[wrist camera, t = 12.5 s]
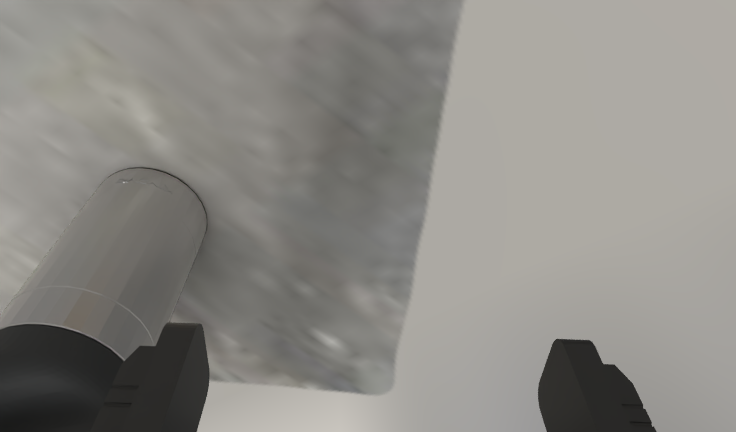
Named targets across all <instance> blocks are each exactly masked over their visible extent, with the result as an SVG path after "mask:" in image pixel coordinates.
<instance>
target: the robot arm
mask: <svg viewBox="0 0 736 432" xmlns="http://www.w3.org/2000/svg"><path fill="white" fill-rule="evenodd" d="M206 227H207V219H206V213H205V210H204V208H203V206H202V203H201V202H200V200H199V199H198V197H197V196H196V194H195V193H194V192H193V191H192V190H191V189H190V188H189V187H188V186H187V185H185V184H184V183H182V182H181V181H179V180H178V179H177V178H174V177H172V176H170V175H168V174H166V173H163V172H160V171H156V170H153V169H144V168H135V169H126V170H123V171H119V172H117V173H115V174H113V175H111V176H109V177H108V178H107V179H106V180H105V181H104V182H103V183H102V184H101V185H100V186H99V187H98V189H97V190H96V191H95V193H94V194H93V195H92V197H91V198H90V199H89V200H88V202H87V203H86V204H85V206H84V207H83V208H82V209H81V210H80V212H79V213H78V214H77V216H76V217H75V218H74V220H73V221H72V222H71V223H70V225H69V226H68V227H67V229H66V230H65V231H64V233H63V234H62V235H61V237H60V238H59V239H58V240H57V242H56V243H55V244H54V246H53V247H52V248H51V250H50V251H49V252H48V254H47V255H46V256H45V257H44V259H43V260H42V261H41V263H40V264H39V265H38V267H37V268H36V269H35V270H34V272H33V273H32V274H31V276H30V277H29V278H28V280H27V281H26V282H25V284H24V285H23V286H22V287H21V289H20V290H19V291H18V293H17V294H16V295H15V297H14V298H13V299H12V300H11V302H10V303H9V304H8V306H7V307H6V308H5V310H4V311H3V313H2V314H1V315H0V432H197V428H198V425H199V421H200V418H201V414H202V411H203V407H204V404H205V400H206V397H207V392H208V386H209V364H208V358H207V351H206V344H205V337H204V331H203V327H202V325H201V324H192V323H169V321H170V319H171V316H172V314H173V312H174V309H175V307H176V304H177V302H178V299H179V297H180V294H181V292H182V289H183V287H184V285H185V282H186V280H187V277H188V275H189V272H190V270H191V267H192V265H193V263H194V261H195V258H196V256H197V253H198V250H199V248H200V245H201V243H202V240H203V238H204V235H205V233H206ZM538 400H539V407H540V411H541V414H542V417H543V421H544V424H545V427H546V430H547V432H656V430H655V428H654V427H652V425H651V423H652V422H651V420H650V418H649V416H648V414H647V412H646V410H645V409H643V404H642V402H641V400H640V398H639V396H638V393H637V391H636V389H635V387H634V385H633V383H632V382H631V381H630V380H628V378H627V377H626V376H625V375H624V374H623V373H622V372H621V371H620V370H619V369H618V368H617V367H616V366H615V365H608V364H603V363H602V361H601V358H600V356H599V354H598V352H597V350H596V348H595V346H594V344H593V343H592V342H591V341H590V340H570V339H569V340H567V339H556V340H555V341H554V342H553V344H552V347H551V350H550V353H549V356H548V359H547V362H546V364H545V367H544V371H543V373H542V376H541V379H540V382H539V388H538Z"/></svg>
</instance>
